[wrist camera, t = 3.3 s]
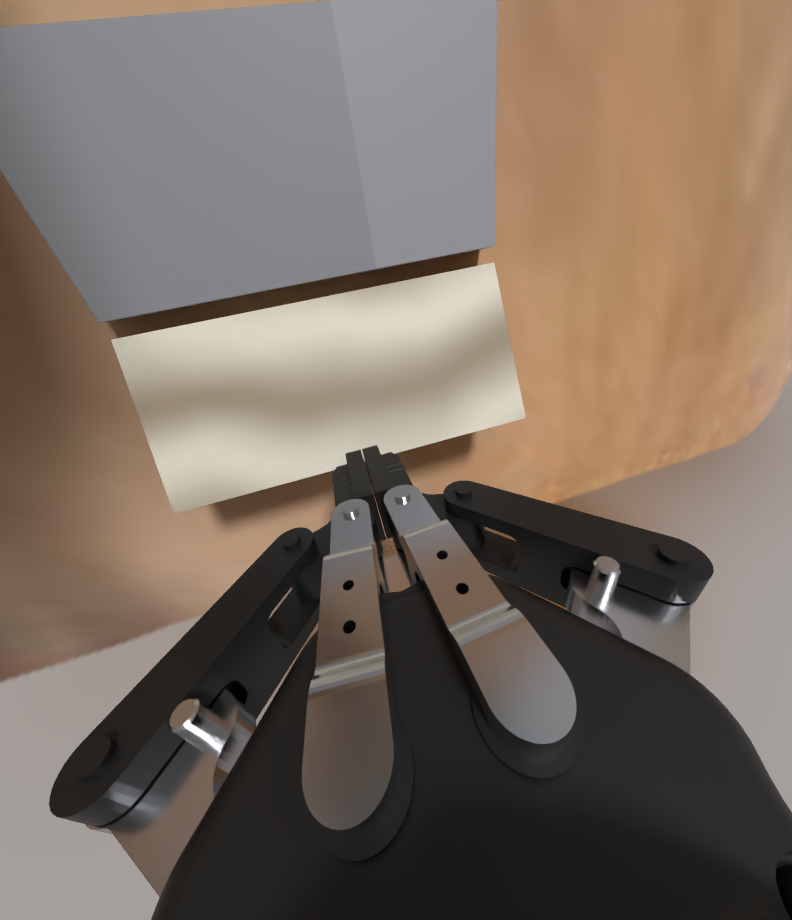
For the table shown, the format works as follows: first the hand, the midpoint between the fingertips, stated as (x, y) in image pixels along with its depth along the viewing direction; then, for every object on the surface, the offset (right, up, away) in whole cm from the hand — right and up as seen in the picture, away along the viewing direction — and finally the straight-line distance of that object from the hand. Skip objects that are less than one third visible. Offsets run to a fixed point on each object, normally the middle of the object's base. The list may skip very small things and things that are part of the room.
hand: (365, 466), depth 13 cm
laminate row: (-3, +12, -1) cm, 13 cm away
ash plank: (-1, +4, +2) cm, 5 cm away
